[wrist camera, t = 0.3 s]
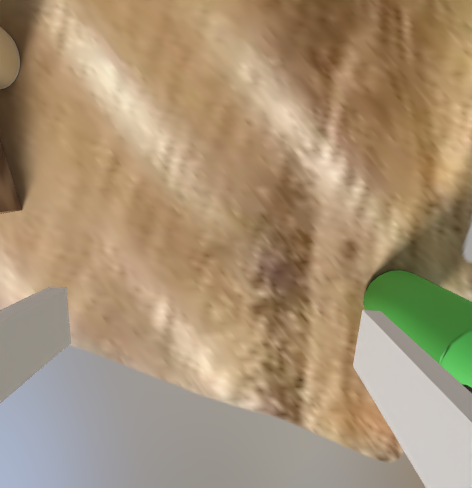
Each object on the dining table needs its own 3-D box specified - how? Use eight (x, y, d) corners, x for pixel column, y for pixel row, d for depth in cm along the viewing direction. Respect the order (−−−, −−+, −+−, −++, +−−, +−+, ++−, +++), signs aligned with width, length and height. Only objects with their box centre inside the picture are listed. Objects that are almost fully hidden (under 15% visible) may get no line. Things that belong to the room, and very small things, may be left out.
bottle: (388, 336, 38) (634, 588, 14) (348, 298, 38) (535, 497, 13) (436, 296, 37) (808, 500, 12) (395, 255, 36) (708, 390, 12)
